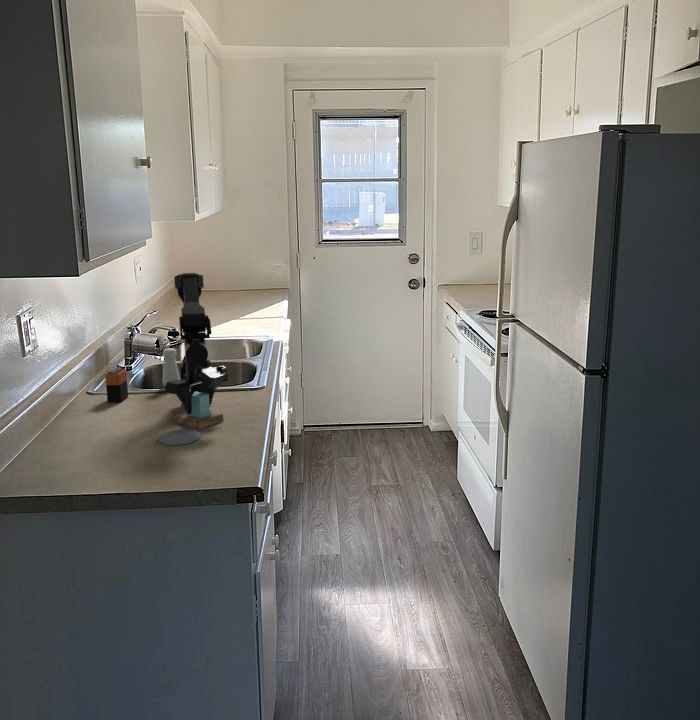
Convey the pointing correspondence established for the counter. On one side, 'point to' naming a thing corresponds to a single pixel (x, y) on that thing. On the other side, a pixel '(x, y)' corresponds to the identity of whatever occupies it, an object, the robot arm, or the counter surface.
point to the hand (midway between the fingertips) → (198, 411)
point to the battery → (116, 385)
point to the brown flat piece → (199, 419)
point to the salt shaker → (170, 366)
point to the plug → (200, 405)
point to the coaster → (178, 437)
